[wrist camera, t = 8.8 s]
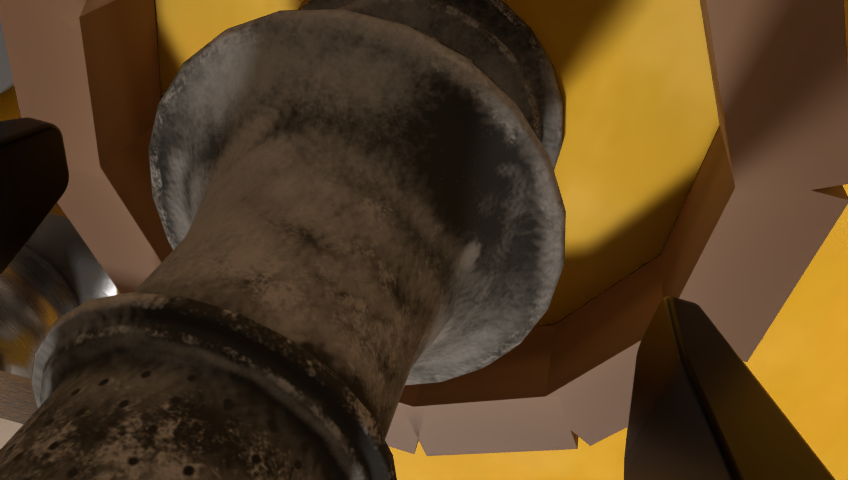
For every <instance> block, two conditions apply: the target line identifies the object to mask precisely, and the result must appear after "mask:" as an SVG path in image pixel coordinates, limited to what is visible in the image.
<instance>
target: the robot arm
mask: <svg viewBox="0 0 848 480" xmlns="http://www.w3.org/2000/svg"><path fill="white" fill-rule="evenodd" d="M68 182H69V170H68V165H67V159H66V153H65V147H64V141H63V136H62V133H61V131H60V129H59V128H58V127H57V126H56V125H54V124H52V123H49V122H45V121H41V120H38V119H34V118H28V117H25V118H19V119H13V120H7V121H1V122H0V276H1V275H2V274H3V272H4V271H5V270H6V269H7V268H8V266H9V265H10V264H11V263H12V261H13V260H14V259H15V258H16V256H17V255H18V254H19V252H20V251H21V250H22V248H23V247H24V246H25V244H26V243H27V242H28V240H29V239H30V238H31V236H32V235H33V234H34V232H35V231H36V230H37V228H38V227H39V226H40V224H41V223H42V222H43V220H44V219H45V218H46V216H47V215H48V214H49V212H50V211H51V210H52V208H53V207H54V206H55V204H56V203H57V202H58V200H59V199H60V198H61V196H62V195H63V194H64V192H65V191H66V188H67V186H68ZM624 480H835V478H834V477H833V476H832V475H831V473H830V472H829V471H828V469H827V468H826V467H825V466H824V464H823V463H822V462H821V461H820V459H819V458H818V457H817V455H816V454H815V453H814V452H813V450H812V449H811V448H810V446H809V445H808V444H807V443H806V441H805V440H804V439H803V437H802V436H801V435H800V434H799V432H798V431H797V430H796V429H795V427H794V426H793V425H792V423H791V422H790V421H789V420H788V418H787V417H786V416H785V414H784V413H783V412H782V411H781V409H780V408H779V407H778V406H777V404H776V403H775V402H774V400H773V399H772V398H771V397H770V395H769V394H768V393H767V391H766V390H765V389H764V388H763V386H762V385H761V384H760V382H759V381H758V380H757V379H756V377H755V376H754V375H753V374H752V372H751V371H750V370H749V368H748V367H747V366H746V365H745V363H744V362H743V361H742V359H741V358H740V357H739V356H738V354H737V353H736V352H735V351H734V349H733V348H732V347H731V345H730V344H729V343H728V342H727V340H726V339H725V338H724V336H723V335H722V334H721V333H720V331H719V330H718V329H717V328H716V326H715V325H714V324H713V322H712V321H711V320H710V319H709V317H708V316H707V315H706V313H705V312H704V311H703V310H702V308H701V307H700V306H699V305H698V304H696V303H694V302H690V301H687V300H683V299H679V298H676V297H672V296H667V297H665V298H663V299H662V300H661V302H660V303H659V305H658V307H657V309H656V311H655V313H654V315H653V317H652V319H651V321H650V323H649V325H648V327H647V329H646V331H645V333H644V336H643V338H642V340H641V342H640V345H639V348H638V352H637V357H636V365H635V373H634V381H633V389H632V397H631V405H630V414H629V422H628V430H627V438H626V447H625V457H624Z"/></svg>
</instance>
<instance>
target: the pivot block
mask: <svg viewBox="0 0 848 480" xmlns="http://www.w3.org/2000/svg"><path fill="white" fill-rule="evenodd" d="M118 294H121V293H120V292H119V291H118V289H117V288H116V286H115V285H114V283H113V282H112V280H111V279H110V278H109V276H108V275H107V273H106V272H105V270H104V269H103V268H102V266H101V265H100V263H99V262H98V260H97V259H96V257H95V256H94V255H93V253H92V252H91V250H90V249H89V247H88V246H87V245H86V243H85V242H84V240H83V239H82V237H81V236H80V234H79V233H78V232H77V230H76V229H75V227H74V226H73V224H72V223H71V222H70V220H69V219H68V217H67V216H66V214H65V213H64V211H63V210H62V209H61V207H60V206H59V204H58V203H56V204H55V206H54V207H53V208H52V210H51V211H50V212H49V214H48V215H47V216H46V218H45V219H44V220H43V222H42V223H41V224H40V226H39V227H38V228H37V230H36V231H35V232H34V234H33V235H32V236H31V238H30V239H29V240H28V242H27V243H26V244H25V246H24V247H23V248H22V250H21V251H20V252H19V254H18V255H17V256H16V258H15V259H14V260H13V261H12V263H11V264H10V265H9V266H8V268H7V269H6V270H5V271H4V272H3V274H2V275H1V276H0V371H3V372H7V373H11V374H15V375H19V376H22V377H26V378H30V379H32V373H33V364H34V354H35V350H36V348H37V347H38V345H39V344H40V342H41V341H42V339H43V337H44V336H45V334H46V333H47V331H48V330H49V328H50V327H51V325H52V324H53V323H54V322H55V321H56V320H57V319H58V318H60V317H61V316H63V315H65V314H66V313H68V312H70V311H71V310H73V309H75V308H76V307H78V306H80V305H81V304H83V303H85V302H86V301H88V300H92V299H97V298H102V297H108V296H113V295H118Z"/></svg>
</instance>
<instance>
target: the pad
mask: <svg viewBox="0 0 848 480" xmlns="http://www.w3.org/2000/svg"><path fill="white" fill-rule="evenodd" d="M13 87H14V82H13V77H12V72H11V67H10V63H9V58H8V53H7V48H6V43H5V39H4V34H3V29H2V24H1V19H0V94H2V93H4V92H6V91H8V90H9V89H11V88H13Z"/></svg>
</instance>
